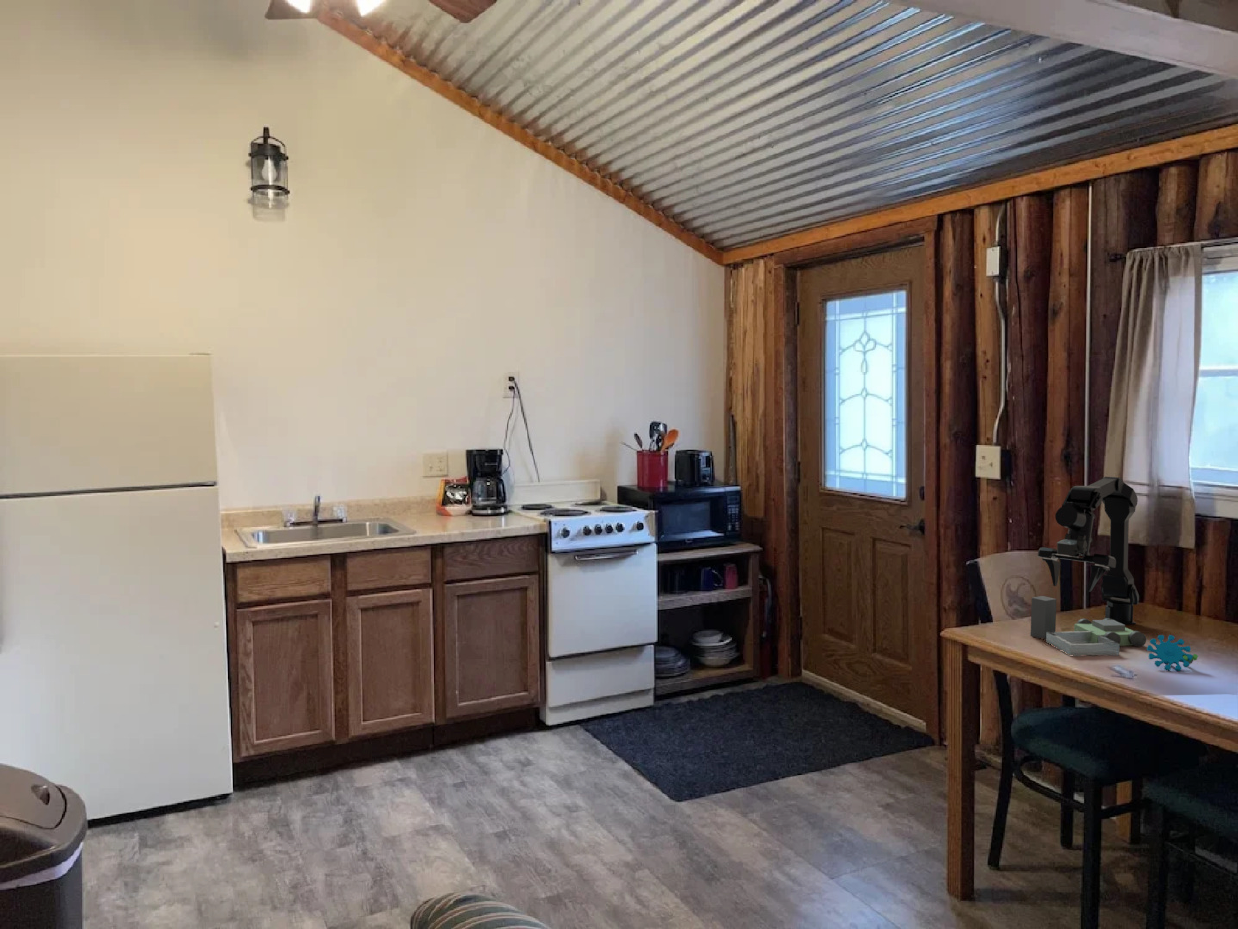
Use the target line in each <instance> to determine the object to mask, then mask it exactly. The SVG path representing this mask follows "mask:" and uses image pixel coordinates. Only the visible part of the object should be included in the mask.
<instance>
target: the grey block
mask: <svg viewBox="0 0 1238 929" xmlns="http://www.w3.org/2000/svg"><path fill="white" fill-rule="evenodd" d="M1030 614H1031V615H1030V637H1033V638H1036V639H1040V638H1043V639H1045V640H1046V633H1047V632H1056V627H1057V626H1056V625H1057V624H1056V622H1057V620H1056V619H1057V598H1054V597H1049V596H1046V595H1045V596H1044V595H1039V596H1033V597H1031V611H1030ZM1043 639H1042V640H1043Z"/></svg>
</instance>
